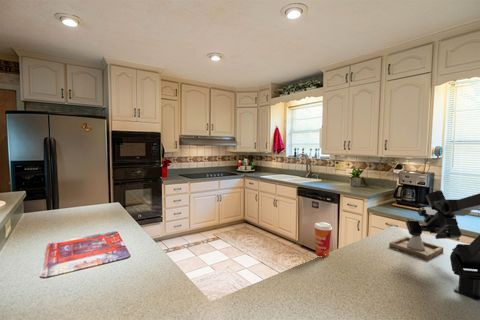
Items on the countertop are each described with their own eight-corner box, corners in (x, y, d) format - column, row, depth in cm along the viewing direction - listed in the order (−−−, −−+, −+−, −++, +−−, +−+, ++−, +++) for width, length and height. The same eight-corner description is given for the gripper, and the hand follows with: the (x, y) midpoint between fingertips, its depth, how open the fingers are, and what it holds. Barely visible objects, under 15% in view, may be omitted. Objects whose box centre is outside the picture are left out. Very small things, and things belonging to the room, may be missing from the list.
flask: (423, 252, 112) (424, 231, 111) (404, 247, 117) (405, 227, 116) (426, 248, 116) (428, 227, 116) (408, 243, 122) (409, 223, 121)
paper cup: (309, 252, 113) (310, 223, 112) (322, 249, 116) (323, 220, 115) (322, 260, 106) (323, 228, 105) (335, 256, 109) (336, 225, 108)
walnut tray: (427, 260, 106) (427, 255, 106) (389, 246, 120) (389, 242, 119) (443, 252, 114) (443, 247, 114) (405, 240, 128) (405, 236, 128)
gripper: (458, 204, 102) (440, 222, 113) (408, 201, 105) (396, 219, 117) (471, 229, 95) (451, 245, 106) (417, 225, 98) (403, 242, 110)
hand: (424, 237), depth 110 cm, fingers open, 9 cm apart
